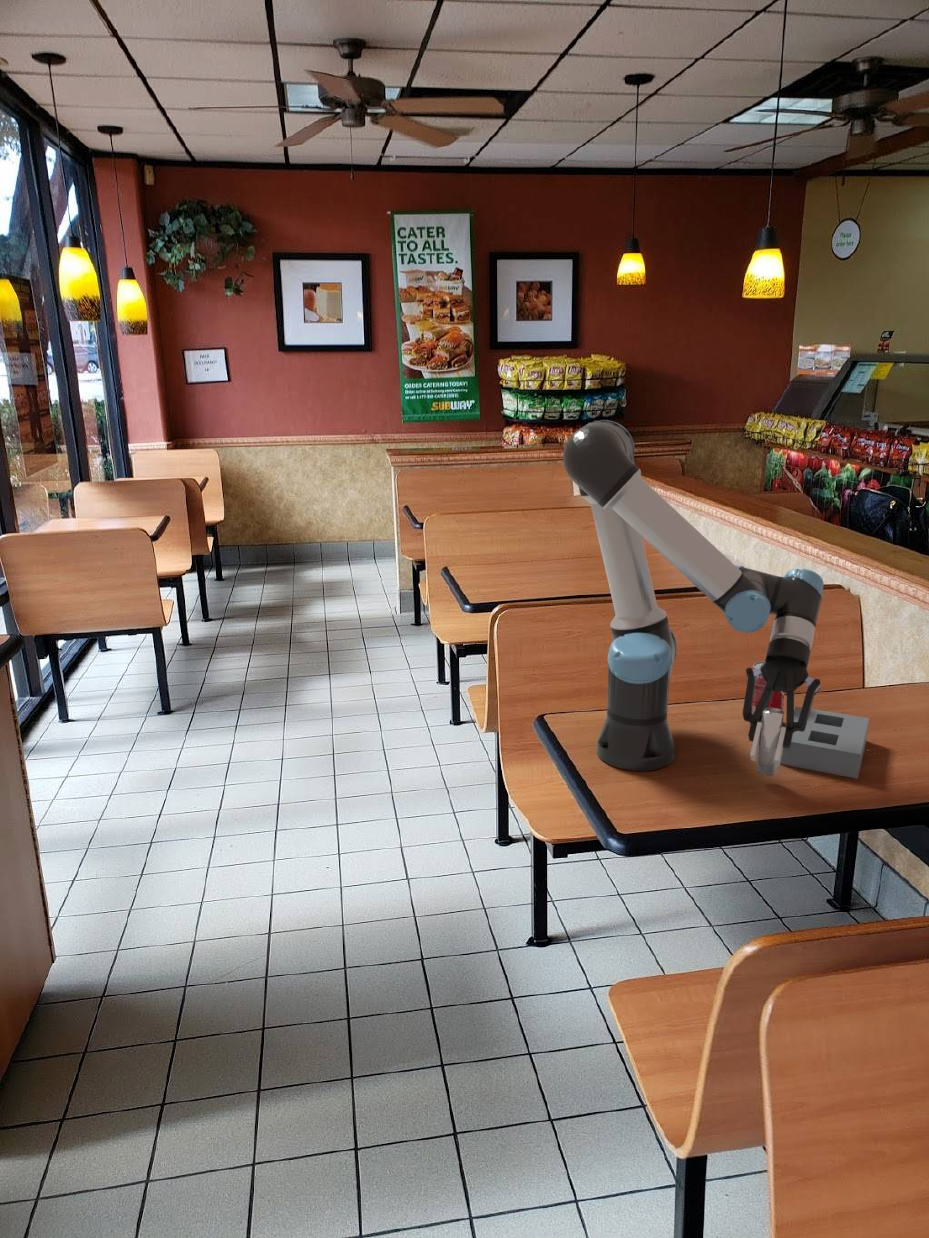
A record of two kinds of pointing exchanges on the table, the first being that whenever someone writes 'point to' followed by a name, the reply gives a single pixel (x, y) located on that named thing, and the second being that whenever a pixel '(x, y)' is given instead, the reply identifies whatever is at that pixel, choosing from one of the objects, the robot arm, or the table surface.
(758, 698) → the soda can
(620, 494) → the robot arm
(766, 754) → the peg
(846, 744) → the hole block
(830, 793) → the table surface
